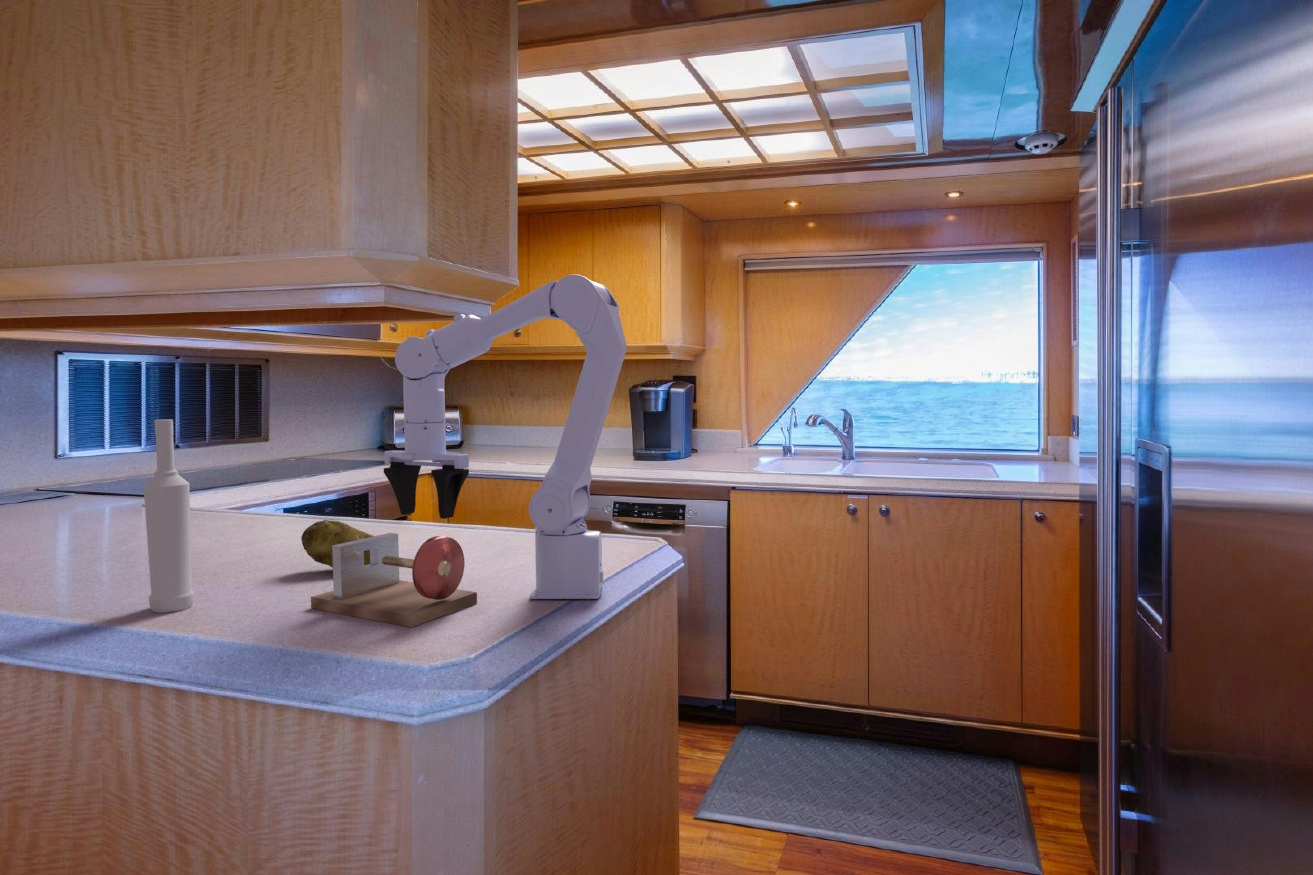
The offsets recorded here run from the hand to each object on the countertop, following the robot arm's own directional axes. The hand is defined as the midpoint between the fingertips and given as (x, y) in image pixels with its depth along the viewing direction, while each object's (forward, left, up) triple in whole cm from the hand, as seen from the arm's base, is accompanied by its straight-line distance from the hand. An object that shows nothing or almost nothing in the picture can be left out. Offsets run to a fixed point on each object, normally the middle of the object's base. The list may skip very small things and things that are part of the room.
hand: (427, 515), depth 117 cm
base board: (+2, +10, -10) cm, 15 cm away
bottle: (+31, +11, -11) cm, 35 cm away
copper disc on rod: (-2, +12, -8) cm, 15 cm away
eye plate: (+6, +8, -9) cm, 13 cm away
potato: (+16, -10, -11) cm, 22 cm away
